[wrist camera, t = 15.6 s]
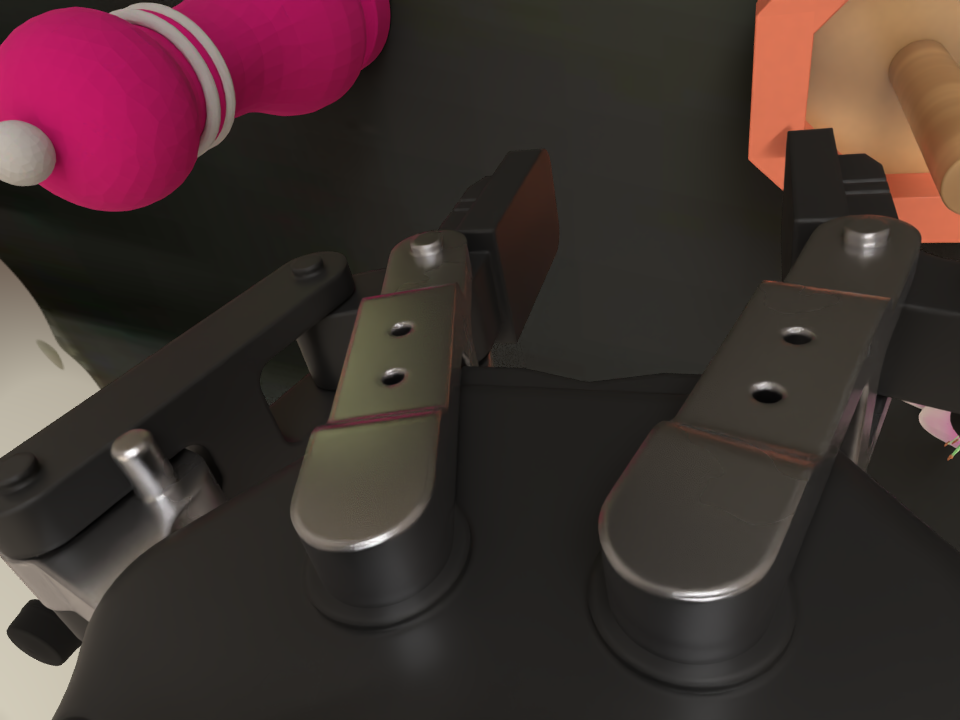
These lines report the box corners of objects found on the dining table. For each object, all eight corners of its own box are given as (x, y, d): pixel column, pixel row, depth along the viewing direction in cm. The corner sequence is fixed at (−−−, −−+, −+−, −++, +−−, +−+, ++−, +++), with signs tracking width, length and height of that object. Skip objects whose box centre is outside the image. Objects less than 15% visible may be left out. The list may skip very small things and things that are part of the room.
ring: (762, -115, 25) (762, -108, 24) (1235, -192, 21) (1279, -191, 19) (744, 219, 33) (743, 244, 31) (1091, 214, 28) (1113, 242, 27)
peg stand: (797, -54, 27) (814, 24, 18) (1085, -97, 24) (1285, -30, 15) (782, 170, 33) (789, 321, 23) (1019, 158, 29) (1137, 327, 20)
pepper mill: (415, -50, 32) (101, 88, 17) (386, 104, 36) (121, 318, 21) (269, -109, 32) (-168, -26, 17) (259, 50, 37) (-89, 224, 22)
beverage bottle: (207, 457, 61) (25, 674, 46) (172, 396, 57) (-39, 610, 42) (271, 461, 58) (100, 692, 43) (238, 398, 55) (40, 626, 40)
